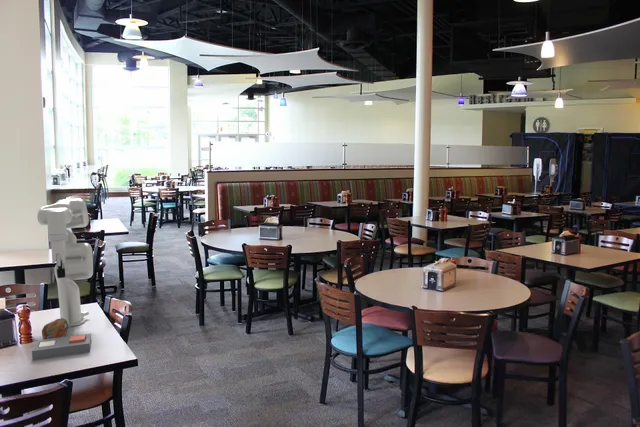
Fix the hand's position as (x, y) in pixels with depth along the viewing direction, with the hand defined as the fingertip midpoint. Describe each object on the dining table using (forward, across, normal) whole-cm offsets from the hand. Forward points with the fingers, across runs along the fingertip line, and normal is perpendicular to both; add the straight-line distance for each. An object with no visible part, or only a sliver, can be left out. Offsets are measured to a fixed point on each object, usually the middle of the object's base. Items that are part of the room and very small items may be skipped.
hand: (61, 277), depth 247 cm
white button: (+29, +16, -6) cm, 33 cm away
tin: (+29, -4, -5) cm, 30 cm away
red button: (+28, +16, +6) cm, 33 cm away
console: (+29, +16, 0) cm, 33 cm away
